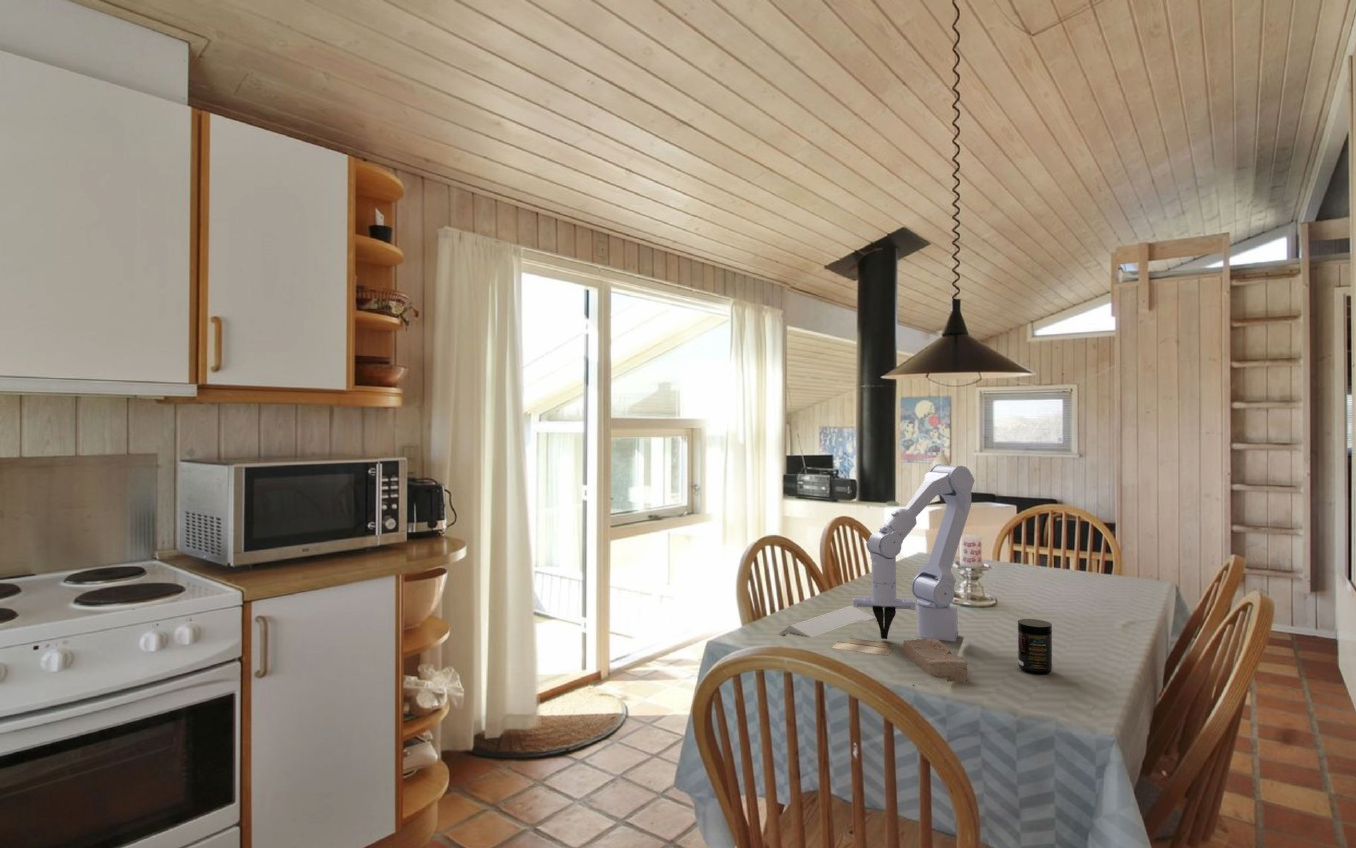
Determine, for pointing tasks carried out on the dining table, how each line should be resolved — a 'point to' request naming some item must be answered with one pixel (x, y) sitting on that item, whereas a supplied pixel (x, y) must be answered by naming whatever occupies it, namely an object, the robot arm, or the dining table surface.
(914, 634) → the dining table surface
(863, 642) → the plank
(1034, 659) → the supplement container
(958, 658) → the brick
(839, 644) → the floor strip
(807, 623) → the crown molding
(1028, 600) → the dining table surface
